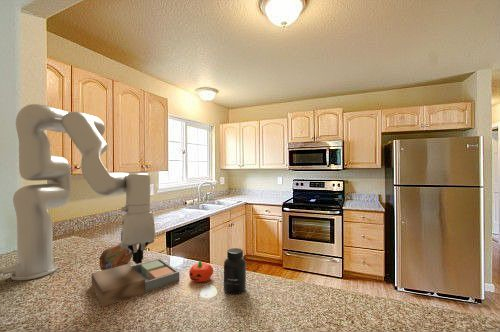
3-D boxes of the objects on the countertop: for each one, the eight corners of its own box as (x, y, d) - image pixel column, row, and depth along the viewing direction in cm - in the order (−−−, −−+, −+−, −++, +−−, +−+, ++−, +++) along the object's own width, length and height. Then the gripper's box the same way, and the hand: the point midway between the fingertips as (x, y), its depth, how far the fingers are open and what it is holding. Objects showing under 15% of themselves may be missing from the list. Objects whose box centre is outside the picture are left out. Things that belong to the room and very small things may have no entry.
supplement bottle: (228, 297, 70) (228, 255, 70) (220, 287, 76) (220, 249, 76) (249, 291, 73) (249, 252, 73) (240, 282, 79) (240, 245, 79)
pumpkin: (214, 283, 79) (215, 265, 79) (189, 287, 77) (189, 268, 76) (211, 272, 86) (211, 255, 85) (188, 275, 84) (188, 257, 83)
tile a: (174, 272, 80) (174, 279, 80) (166, 266, 84) (166, 273, 84) (155, 277, 76) (155, 285, 76) (148, 271, 80) (148, 279, 80)
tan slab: (102, 306, 65) (102, 292, 65) (91, 285, 77) (91, 273, 77) (144, 292, 73) (144, 279, 73) (128, 275, 85) (128, 263, 85)
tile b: (164, 264, 86) (164, 272, 86) (157, 260, 90) (157, 266, 90) (146, 269, 82) (146, 277, 82) (140, 264, 86) (140, 271, 86)
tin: (105, 276, 84) (105, 251, 84) (97, 275, 85) (97, 251, 85) (133, 259, 99) (133, 239, 99) (127, 259, 100) (127, 238, 100)
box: (145, 292, 73) (145, 282, 73) (129, 275, 85) (129, 266, 85) (179, 280, 80) (179, 271, 80) (160, 266, 92) (160, 258, 92)
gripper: (117, 213, 75) (116, 272, 75) (163, 208, 85) (163, 260, 85) (111, 210, 81) (110, 265, 81) (155, 205, 91) (155, 254, 91)
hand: (137, 262), depth 83 cm, fingers closed
